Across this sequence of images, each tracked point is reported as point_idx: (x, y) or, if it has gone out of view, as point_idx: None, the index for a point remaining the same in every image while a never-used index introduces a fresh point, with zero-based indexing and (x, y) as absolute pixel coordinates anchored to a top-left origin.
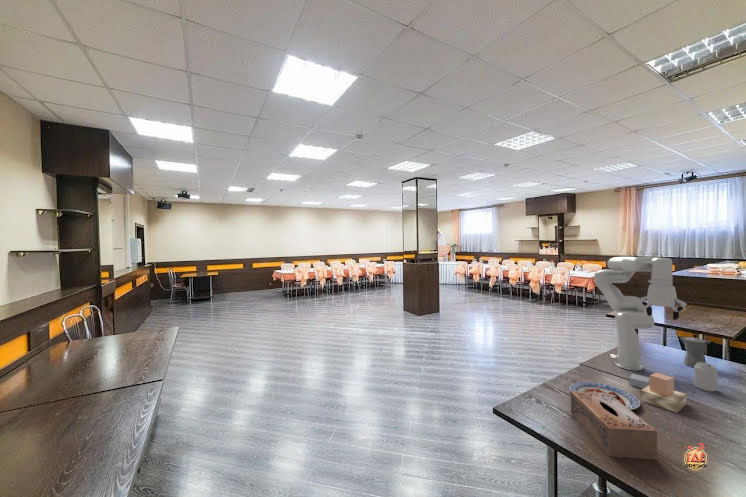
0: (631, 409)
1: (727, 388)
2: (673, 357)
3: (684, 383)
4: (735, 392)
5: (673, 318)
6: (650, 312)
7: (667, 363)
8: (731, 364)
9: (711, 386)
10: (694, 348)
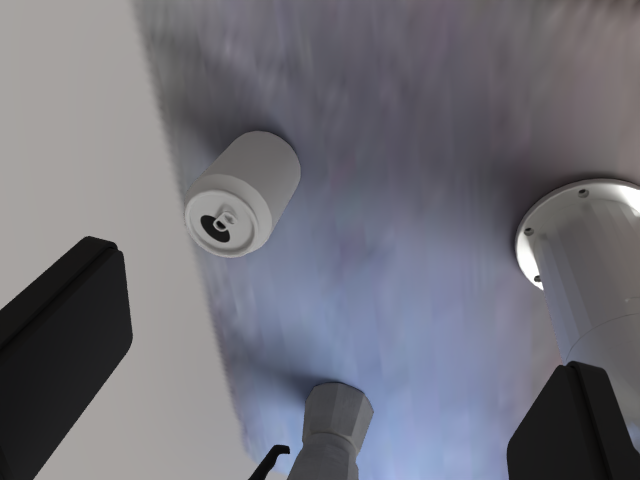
0: None
1: None
2: (410, 452)
3: (339, 170)
4: None
5: (96, 252)
6: (550, 467)
7: (423, 380)
8: None
9: (231, 144)
10: (320, 460)
